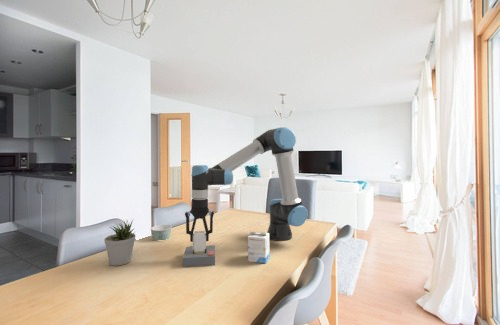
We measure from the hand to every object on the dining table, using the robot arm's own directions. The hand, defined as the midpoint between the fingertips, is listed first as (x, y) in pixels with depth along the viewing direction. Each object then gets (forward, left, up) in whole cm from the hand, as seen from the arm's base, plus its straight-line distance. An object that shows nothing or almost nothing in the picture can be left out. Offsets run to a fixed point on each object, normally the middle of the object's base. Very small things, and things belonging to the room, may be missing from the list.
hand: (199, 248), depth 116 cm
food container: (+24, -35, -6) cm, 43 cm away
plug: (0, 0, -5) cm, 5 cm away
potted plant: (+35, -2, -6) cm, 36 cm away
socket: (0, 0, -6) cm, 6 cm away
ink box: (-28, +3, -6) cm, 29 cm away
